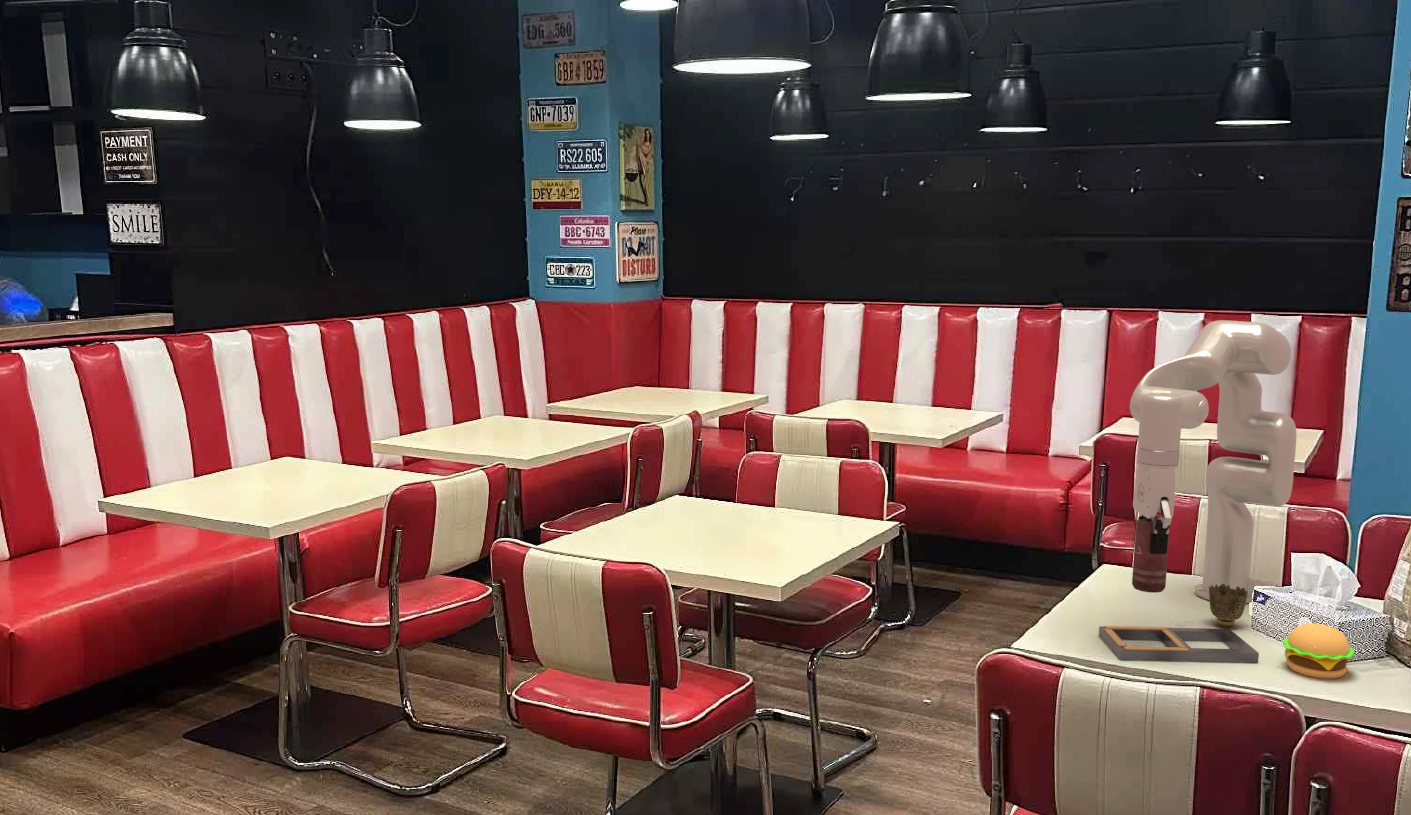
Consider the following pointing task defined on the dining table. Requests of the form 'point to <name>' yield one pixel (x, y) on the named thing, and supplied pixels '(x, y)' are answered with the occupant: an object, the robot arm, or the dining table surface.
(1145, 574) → the can
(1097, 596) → the dining table surface
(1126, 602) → the dining table surface
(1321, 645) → the hamburger
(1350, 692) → the dining table surface
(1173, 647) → the grey tray
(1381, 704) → the dining table surface
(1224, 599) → the cup
